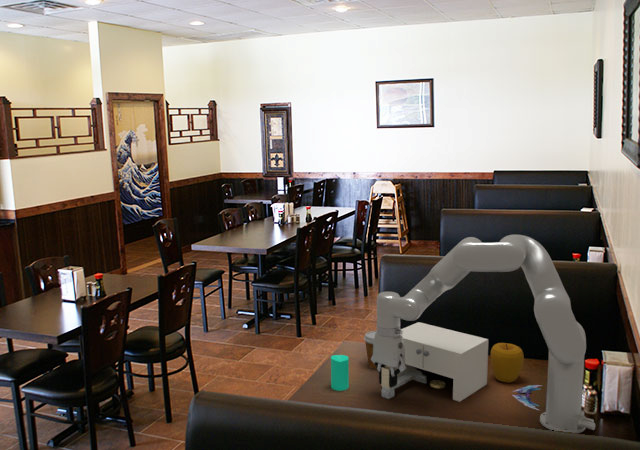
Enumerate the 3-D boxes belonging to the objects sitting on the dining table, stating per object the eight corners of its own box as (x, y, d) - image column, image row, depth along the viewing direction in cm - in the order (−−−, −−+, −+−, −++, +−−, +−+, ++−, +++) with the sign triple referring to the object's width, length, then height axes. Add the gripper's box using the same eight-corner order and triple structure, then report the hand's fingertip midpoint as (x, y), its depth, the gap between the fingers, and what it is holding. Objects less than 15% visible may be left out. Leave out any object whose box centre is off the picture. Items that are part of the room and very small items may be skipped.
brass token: (447, 386, 204) (447, 382, 204) (439, 390, 200) (439, 387, 200) (435, 382, 207) (435, 378, 207) (427, 386, 204) (427, 383, 203)
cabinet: (486, 384, 204) (488, 339, 202) (458, 402, 191) (459, 354, 188) (417, 363, 223) (418, 322, 221) (387, 378, 210) (387, 334, 207)
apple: (524, 376, 210) (525, 341, 208) (520, 388, 201) (522, 351, 199) (492, 371, 215) (493, 337, 213) (487, 382, 205) (488, 346, 203)
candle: (328, 388, 202) (327, 354, 200) (335, 382, 207) (335, 349, 205) (344, 392, 199) (343, 357, 197) (351, 385, 205) (351, 351, 203)
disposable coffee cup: (361, 369, 218) (361, 337, 216) (367, 359, 227) (367, 329, 225) (387, 372, 215) (387, 340, 213) (391, 362, 224) (392, 331, 222)
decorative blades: (515, 380, 206) (546, 385, 202) (515, 382, 206) (546, 387, 202) (507, 403, 189) (540, 409, 184) (507, 405, 189) (540, 411, 185)
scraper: (393, 401, 192) (394, 371, 191) (376, 394, 197) (376, 365, 195) (426, 382, 206) (427, 355, 204) (409, 377, 211) (410, 350, 209)
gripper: (416, 333, 189) (415, 388, 192) (375, 322, 201) (375, 374, 203) (402, 339, 184) (402, 395, 187) (360, 327, 195) (361, 381, 198)
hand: (388, 383), depth 195 cm, fingers open, 3 cm apart
